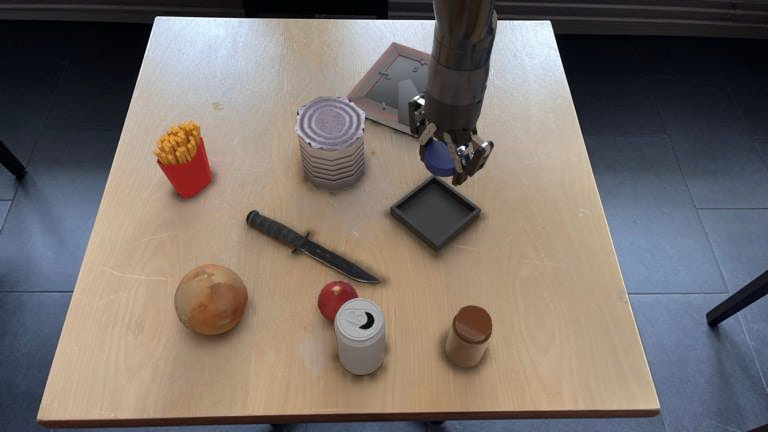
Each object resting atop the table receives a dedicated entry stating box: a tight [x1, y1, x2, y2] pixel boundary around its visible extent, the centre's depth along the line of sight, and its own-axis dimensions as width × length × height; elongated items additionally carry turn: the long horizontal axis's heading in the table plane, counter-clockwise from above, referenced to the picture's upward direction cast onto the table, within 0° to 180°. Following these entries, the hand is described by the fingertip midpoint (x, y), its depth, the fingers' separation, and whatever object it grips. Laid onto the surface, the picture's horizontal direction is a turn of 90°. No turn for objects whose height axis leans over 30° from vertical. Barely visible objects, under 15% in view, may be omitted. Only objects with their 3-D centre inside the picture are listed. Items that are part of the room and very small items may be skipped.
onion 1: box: [173, 263, 249, 336], centre depth 73 cm, size 10×10×10 cm
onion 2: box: [317, 280, 359, 323], centre depth 74 cm, size 6×6×8 cm
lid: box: [422, 139, 464, 178], centre depth 77 cm, size 6×6×2 cm
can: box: [294, 95, 366, 194], centre depth 89 cm, size 11×11×12 cm
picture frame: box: [346, 41, 431, 138], centre depth 105 cm, size 16×2×22 cm
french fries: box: [152, 119, 213, 199], centre depth 86 cm, size 8×4×12 cm, turn 145°
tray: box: [389, 174, 482, 254], centre depth 87 cm, size 11×11×2 cm
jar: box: [444, 304, 494, 369], centre depth 70 cm, size 5×5×10 cm
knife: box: [245, 209, 382, 283], centre depth 82 cm, size 24×5×3 cm, turn 55°
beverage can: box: [333, 297, 386, 376], centre depth 69 cm, size 6×6×12 cm
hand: (442, 170), depth 79 cm, fingers closed on lid, 5 cm apart
